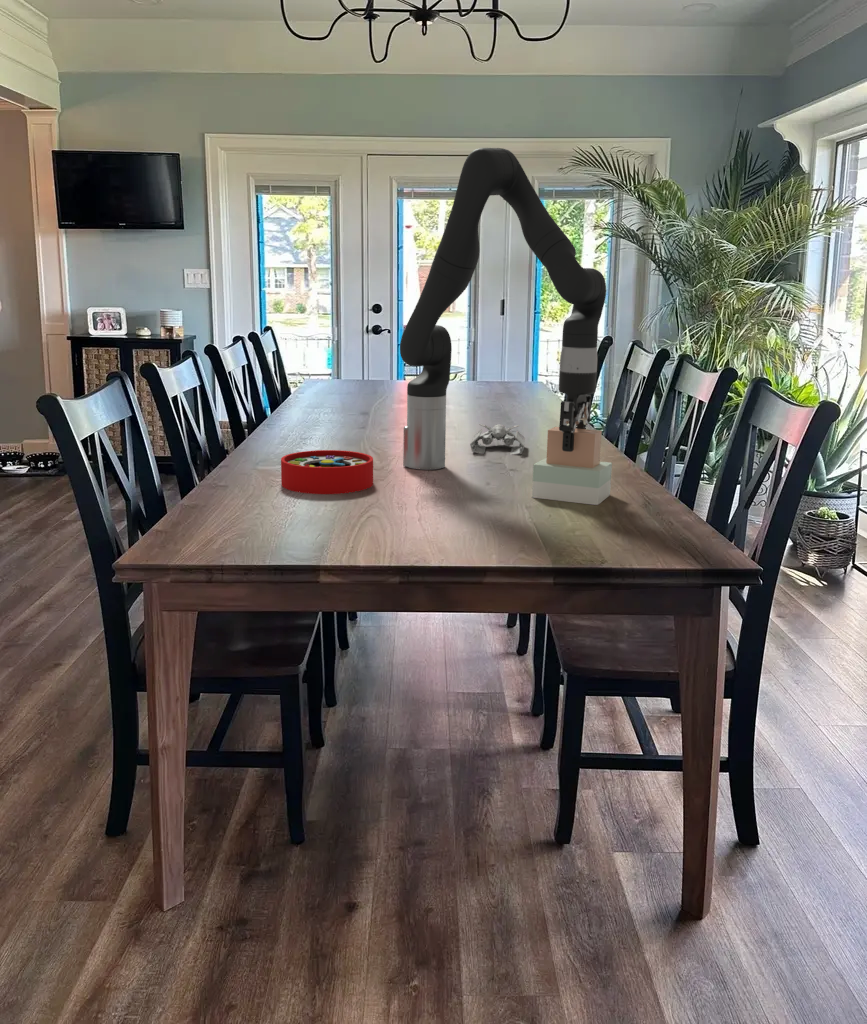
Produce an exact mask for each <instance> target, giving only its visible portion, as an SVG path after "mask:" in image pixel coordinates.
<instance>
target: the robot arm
mask: <svg viewBox="0 0 867 1024" xmlns="http://www.w3.org/2000/svg"><path fill="white" fill-rule="evenodd" d="M458 179H459V180H458V184H457V188H456V190H455V191H456V192H455V195H454V199H453V203H452V207H451V210H450V212H449V216H448V219H447V222H446V225H445V227H444V231H443V234H442V235H441V236H442V237H441V239H440V242H439V244H438V247H437V249H436V251H435V255H434V258H433V260H432V262H431V266H430V268H429V273H428V276H427V277H426V280H425V283H424V286H423V288H422V289H421V290H422V291H421V293H420V295H419V298H418V300H417V303H416V305H415V307H414V309H413V312H412V313H411V315H410V317H409V319H408V322H407V323H406V326H405V328H404V330H403V332H402V335H401V338H400V343H399V344H400V345H399V353H400V357H401V360H402V362H403V363H405V364H406V365H408V366H411V367H422V371H421V372H420V374H419V375H417V376H416V377H415V378H414V379H412V380H410V381H409V382H408V383H407V387H406V388H407V389H406V390H407V391H406V394H407V395H406V399H407V400H406V425H405V426H403V441H402V442H403V445H402V446H403V450H402V451H403V452H402V454H403V457H402V458H403V459H402V460H403V463H402V464H403V467H407V468H410V469H413V470H423V471H424V470H426V471H429V470H440V469H443V468H445V467H446V435H447V434H446V432H447V431H446V430H447V429H446V427H447V426H446V425H447V418H446V416H447V389H448V386H449V383H450V376H451V364H452V350H453V349H452V339H451V335H450V333H449V331H448V329H447V328H446V327H444V326H443V325H437V324H438V321H439V319H440V318H441V317H442V315H443V314H444V313H445V312H446V310H447V309H449V307H451V306H452V304H453V303H455V301H456V300H457V299H458V298H459V297H460V296H461V295H462V294H464V292H465V290H466V289H467V288H468V286H469V285H470V282H471V281H472V278H473V275H474V273H475V270H476V267H477V265H478V262H479V258H480V250H481V249H480V236H479V235H480V234H479V224H480V219H481V216H482V214H483V211H484V209H485V206H486V204H487V202H488V200H489V198H490V196H499V197H501V198H502V199H503V200H504V201H505V202H506V203H508V205H509V206H510V207H511V208H512V210H514V212H515V214H516V216H517V218H518V221H519V224H520V228H521V230H522V231H521V232H522V235H523V238H524V240H525V242H526V244H527V245H528V247H529V248H530V250H531V251H532V253H533V254H534V255H535V257H536V259H538V260H539V262H540V263H541V264H542V265H543V267H544V268H545V269H546V271H547V273H548V277H549V278H550V280H551V282H552V284H553V286H554V289H555V290H556V292H557V293H558V294H559V296H560V297H561V298H562V299H563V300H564V301H565V302H567V303H569V304H572V309H571V313H570V314H571V315H569V316H568V317H567V318H566V319H565V320H564V322H563V327H562V336H561V337H562V339H561V352H560V357H559V373H558V374H559V375H558V391H559V393H561V394H566V395H567V396H566V399H565V400H561V401H560V410H559V411H560V412H559V413H560V414H559V426H558V427H559V430H560V431H562V433H563V444H562V450H563V451H567V452H572V451H573V450H574V434H575V429H576V428H577V429H587V427H588V425H589V424H590V422H591V412H592V411H591V409H592V394H595V393H596V389H597V376H598V375H597V374H598V372H597V371H598V336H599V334H598V333H599V324H600V320H601V317H602V314H603V310H604V307H605V306H604V305H605V301H606V297H607V283H606V279H605V277H604V275H603V273H601V272H600V270H598V269H597V268H592V267H591V268H589V267H586V268H585V267H582V265H581V264H580V263H579V261H578V260H577V259H576V256H577V255H576V254H577V251H576V248H575V246H574V244H573V243H572V241H571V240H570V239H569V238H568V236H567V235H566V234H565V233H564V231H563V230H562V229H561V227H560V226H559V225H558V224H557V222H556V221H555V220H554V218H553V217H552V216H551V214H550V213H549V211H548V210H547V208H546V207H545V205H544V204H543V203H542V200H541V199H540V197H539V195H538V194H537V192H536V190H535V188H534V186H533V184H532V183H531V182H530V180H529V177H528V176H527V173H526V172H525V170H524V168H523V166H522V165H521V163H520V161H519V160H518V159H517V157H516V156H515V154H514V153H513V152H512V151H511V150H509V149H506V148H504V147H503V148H500V147H479V148H476V149H474V150H473V151H471V152H470V153H469V154H468V156H467V157H466V159H465V161H464V163H463V165H462V168H461V171H460V175H459V178H458Z"/></svg>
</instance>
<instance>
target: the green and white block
mask: <svg viewBox="0 0 867 1024" xmlns="http://www.w3.org/2000/svg"><path fill="white" fill-rule="evenodd" d="M546 460H547V456H546V457H544V458H543V459H541V460H539V461H537V462H536V463H533V467H532V487H531V489H532V491H531V492H532V493H531V498H532V499H533V498H535V499H543V500H551V501H557V502H558V501H559V502H569V503H576V504H577V503H578V504H585V505H593V506H594V505H595V506H599V505H600V504H601V503H602V502H603V501H605V500H606V499H607V498H608V497H610V496H611V485H612V470H613V462H609V461H608V462H607V461H600V464H599V465H597V466H596V467H594V468H587V467H578V466H568V465H558V464H548V463H546Z"/></svg>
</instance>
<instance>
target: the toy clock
mask: <svg viewBox="0 0 867 1024" xmlns="http://www.w3.org/2000/svg"><path fill="white" fill-rule="evenodd" d="M280 472H281V473H280V476H281V477H280V479H281V480H280V481H281V486H282V488H283V489H285V490H288V491H292V492H295V493H301V494H309V495H311V494H313V495H338V494H339V495H342V494H349V492H351V493H356V492H355V491H357V492H362V491H364V489H365V490H368V489H371V487H373V486H374V457H373V456H372V455H370V454H367V453H364V452H359V451H354V450H353V451H350V450H341V449H339V450H336V449H330V450H329V449H320V450H317V449H315V450H306V451H298V452H293V453H288V454H285V455H283V456H282V457H281V458H280ZM367 488H368V489H367ZM361 490H362V491H361ZM341 493H342V494H341Z"/></svg>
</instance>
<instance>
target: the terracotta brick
mask: <svg viewBox="0 0 867 1024" xmlns="http://www.w3.org/2000/svg"><path fill="white" fill-rule="evenodd" d="M546 440H547V441H546V444H547V445H546V457H547V460H546V463H548V464H558V465H568V466H578V467H587V468H594V467H596V466H597V465H599V464H600V462H601V451H602V450H601V447H602V446H601V445H602V430H597V429H587V428H586V429H577V428H576V429H575V434H574V450H573V451H572V452H567V451H563V450H562V444H563V433H562V431H560V430H559V426H554V427H552V428H549V429H547V439H546Z"/></svg>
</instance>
